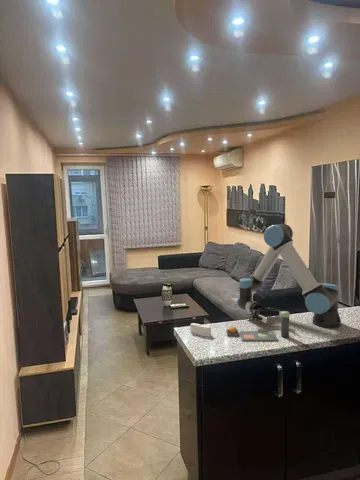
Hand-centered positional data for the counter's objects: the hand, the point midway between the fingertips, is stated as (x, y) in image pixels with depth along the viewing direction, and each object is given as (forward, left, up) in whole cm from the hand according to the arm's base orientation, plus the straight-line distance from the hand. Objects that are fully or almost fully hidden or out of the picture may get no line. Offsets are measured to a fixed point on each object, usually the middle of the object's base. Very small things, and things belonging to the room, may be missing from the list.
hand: (277, 318), depth 189 cm
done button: (+24, +1, -8) cm, 25 cm away
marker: (-3, +5, -8) cm, 10 cm away
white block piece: (+41, 0, -8) cm, 42 cm away
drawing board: (+11, +5, -8) cm, 14 cm away
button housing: (+24, +1, -8) cm, 25 cm away
